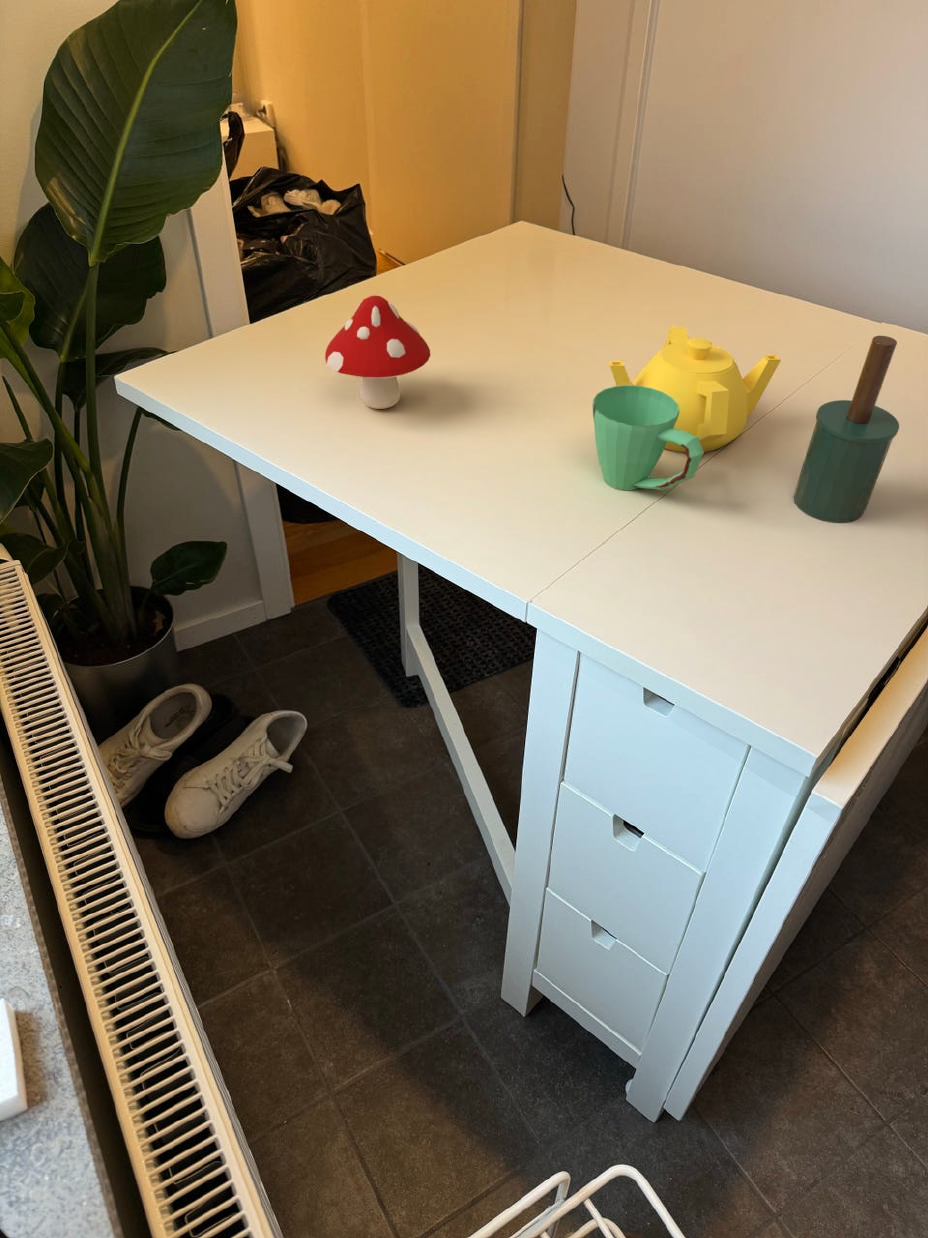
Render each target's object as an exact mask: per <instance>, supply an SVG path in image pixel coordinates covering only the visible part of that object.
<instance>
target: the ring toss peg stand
mask: <svg viewBox="0 0 928 1238" xmlns="http://www.w3.org/2000/svg"><path fill="white" fill-rule="evenodd" d="M897 345H898V341H897V340H896V339H895V338H894V337H890V336H887V335H876V336H873V337H872V339H871V342H870V345H869V348H868V351H867V354H866V357H865V361H864V363H863V366H862V369H861V372H860V375H859V378H858V381H857V384H856V387H855V391H854V393H853V396H852V399H851V400H848V399H840V400H831V401H828V402H825V403H823V404H821V405H820V406H819V408H818V409H817V411H816V415H815V420H816V421H817V423H818V424H819V425H820V426H821V427H822V428H823V429H824V430H825V431H827V432H828V433H830V434H832V435H834V436H836V437H839V438H842V439H845V440H849V441H853V442H859V443H881V442H886V441H889V440H891V439H892V440H893V439H894V438H895V437H896V436H897V435H898V432H899V429H900V423H899V421H898V419H897V418H896V416H894V415H893V414H892V413H891V412H889V411H887V410H886V409H884V408H882V407H880V406H877V405H876V403H877V401H878V399H879V395H880V392H881V390H882V387H883V384H884V381H885V378H886V375H887V374H888V371H889V367H890V364H891V361H892V360H893V359H892V358H893V356H894V353H895V350H896V348H897Z"/></svg>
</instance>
